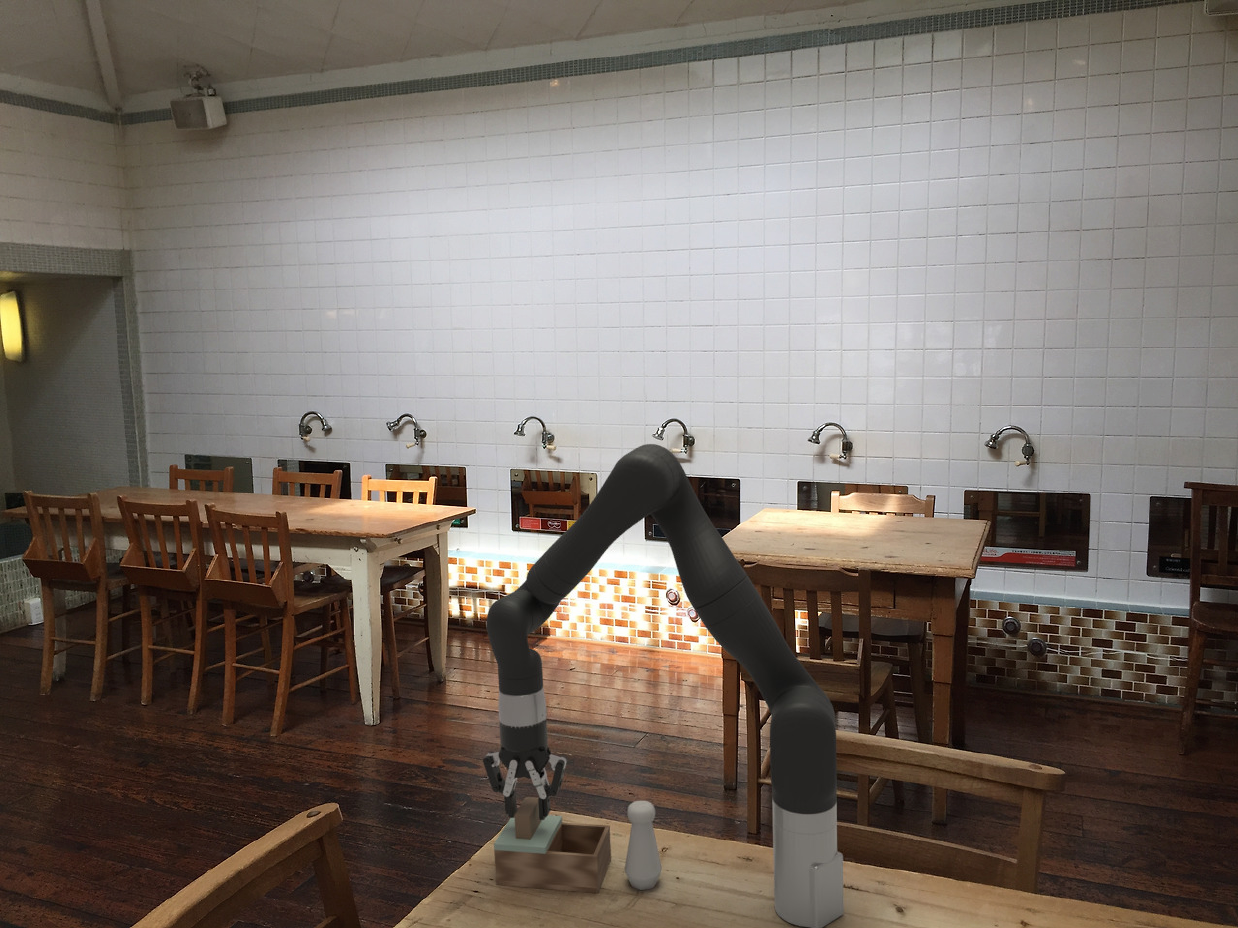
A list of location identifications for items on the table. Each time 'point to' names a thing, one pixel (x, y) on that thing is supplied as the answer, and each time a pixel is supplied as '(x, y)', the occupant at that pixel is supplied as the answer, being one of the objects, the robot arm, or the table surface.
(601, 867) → the box
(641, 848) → the salt shaker
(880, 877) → the table surface
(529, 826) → the lid
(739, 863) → the table surface
